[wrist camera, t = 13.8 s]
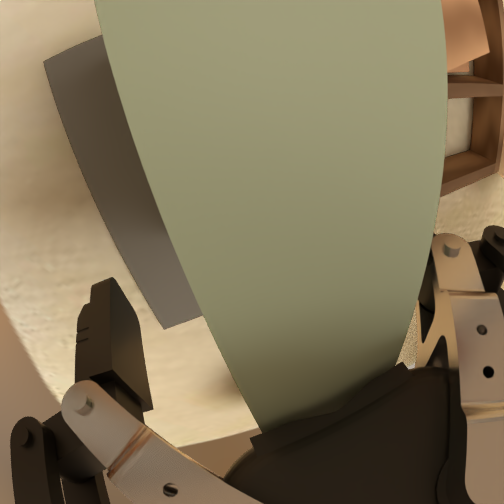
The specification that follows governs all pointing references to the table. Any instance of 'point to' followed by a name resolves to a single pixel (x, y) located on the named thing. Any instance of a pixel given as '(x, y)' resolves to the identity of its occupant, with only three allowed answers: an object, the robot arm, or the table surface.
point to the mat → (118, 177)
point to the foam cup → (502, 163)
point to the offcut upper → (463, 32)
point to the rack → (481, 107)
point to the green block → (291, 176)
